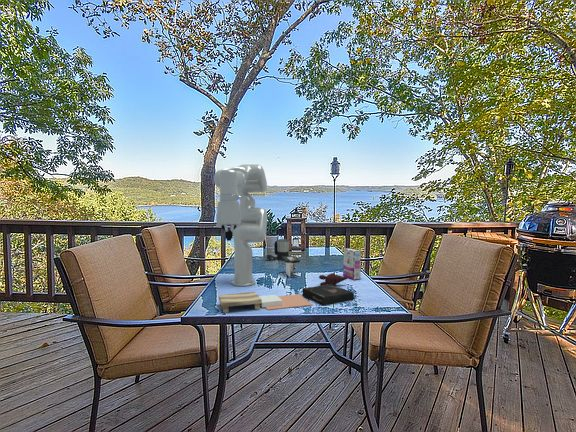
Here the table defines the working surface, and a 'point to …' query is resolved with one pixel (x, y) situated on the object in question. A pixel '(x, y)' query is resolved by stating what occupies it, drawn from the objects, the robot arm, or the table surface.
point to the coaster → (270, 301)
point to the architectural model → (290, 263)
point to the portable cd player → (327, 294)
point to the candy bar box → (352, 263)
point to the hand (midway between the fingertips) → (228, 240)
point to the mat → (291, 302)
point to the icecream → (331, 279)
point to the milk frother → (280, 249)
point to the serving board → (239, 300)
